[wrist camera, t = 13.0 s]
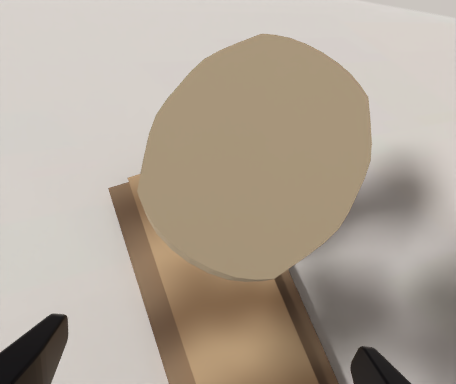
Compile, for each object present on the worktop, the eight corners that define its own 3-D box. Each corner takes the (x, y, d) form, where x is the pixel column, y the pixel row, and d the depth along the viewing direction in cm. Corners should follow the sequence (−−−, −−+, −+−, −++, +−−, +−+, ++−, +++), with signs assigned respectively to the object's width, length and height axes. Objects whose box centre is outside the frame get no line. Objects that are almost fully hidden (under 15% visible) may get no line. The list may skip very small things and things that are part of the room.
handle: (259, 226, 22) (400, 99, 8) (211, 309, 20) (296, 326, 6) (202, 190, 22) (246, 7, 8) (148, 268, 20) (87, 190, 6)
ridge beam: (362, 448, 20) (377, 460, 19) (219, 542, 17) (224, 565, 16) (233, 154, 26) (237, 145, 24) (110, 192, 23) (105, 184, 21)
